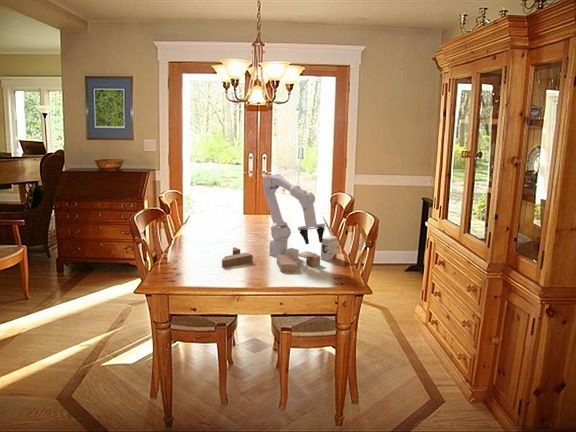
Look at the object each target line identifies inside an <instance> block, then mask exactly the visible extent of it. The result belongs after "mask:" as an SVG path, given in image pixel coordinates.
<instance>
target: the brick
mask: <svg viewBox="0 0 576 432" xmlns="http://www.w3.org/2000/svg"><path fill="white" fill-rule="evenodd" d="M297 263H298V262H297V261H296V260H295V259H294V256H293V255H289V254H288V255H277V257H276V264H277V265H278V269H279V272H281V273H284V272H285V273H297V272H298V264H297Z"/></svg>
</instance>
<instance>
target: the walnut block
mask: <svg viewBox="0 0 576 432" xmlns="http://www.w3.org/2000/svg"><path fill="white" fill-rule="evenodd" d="M305 260H306V263H305V264H306V266H308V267H312V268H316V267H319V266H321V255H318V254H316V255H315V254H311V255H308V256H307V257H306V258H305Z"/></svg>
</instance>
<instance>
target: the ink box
mask: <svg viewBox="0 0 576 432" xmlns="http://www.w3.org/2000/svg"><path fill="white" fill-rule="evenodd" d="M337 252H338V237H337V236H332V235H329V236H325V237H323V239H322V242H321V245H320V261H321V260H322V261H326V262H329V261H332V260H334V259H337V256H338V255H337V254H338V253H337Z"/></svg>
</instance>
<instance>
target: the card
mask: <svg viewBox="0 0 576 432" xmlns="http://www.w3.org/2000/svg"><path fill="white" fill-rule="evenodd" d="M311 254H315V255H317V253H315V252H312V251H303V252H299V256H298V257H299V258H300V257H301V258H304V259H306V257H307V256H308V255H311Z"/></svg>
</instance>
